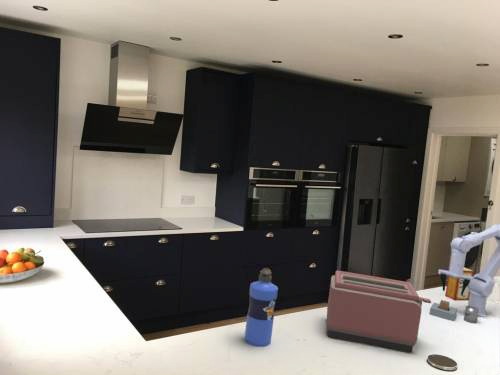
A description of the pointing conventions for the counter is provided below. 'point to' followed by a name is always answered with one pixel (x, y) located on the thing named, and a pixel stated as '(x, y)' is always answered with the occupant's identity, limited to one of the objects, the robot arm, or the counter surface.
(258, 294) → the water bottle
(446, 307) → the square peg
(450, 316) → the socket block
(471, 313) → the round peg
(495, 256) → the robot arm
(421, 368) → the counter surface
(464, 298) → the baking soda box
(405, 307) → the toaster
